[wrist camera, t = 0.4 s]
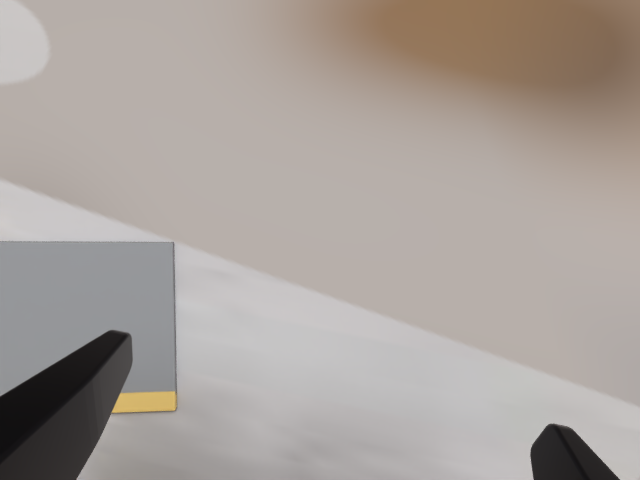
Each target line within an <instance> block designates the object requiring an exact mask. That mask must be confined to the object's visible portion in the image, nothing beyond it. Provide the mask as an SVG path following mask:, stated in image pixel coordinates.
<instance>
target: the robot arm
mask: <svg viewBox="0 0 640 480" xmlns="http://www.w3.org/2000/svg"><path fill="white" fill-rule="evenodd" d="M132 363H133V351H132V336H131V334H130V333H128V332H123V331H119V330H109V331H107V332H105V333H103V334H102V335H100V336H99V337H97V338H95V339H94V340H92V341H90V342H89V343H87V344H85V345H84V346H82V347H80V348H79V349H77V350H75V351H74V352H72V353H70V354H69V355H67V356H65V357H64V358H62V359H61V360H59V361H57V362H56V363H54V364H52V365H51V366H49V367H47V368H46V369H44V370H42V371H41V372H39V373H37V374H36V375H34V376H32V377H31V378H29V379H27V380H26V381H24V382H23V383H21V384H19V385H18V386H16V387H14V388H13V389H11V390H9V391H8V392H6V393H4V394H3V395H1V396H0V480H76V479H77V477H78V475H79V474H80V472H81V470H82V469H83V467H84V465H85V463H86V462H87V460H88V458H89V457H90V455H91V453H92V452H93V450H94V448H95V446H96V444H97V442H98V441H99V439H100V437H101V434H102V432H103V430H104V428H105V426H106V424H107V421H108V419H109V417H110V415H111V413H112V410H113V408H114V406H115V404H116V401H117V399H118V397H119V395H120V393H121V390H122V388H123V386H124V384H125V382H126V379H127V377H128V375H129V373H130V370H131V367H132ZM531 464H532V471H533V478H534V480H620V479H619V478H618V477H617V476H616V475H615V474H614V473H613V472H612V471H611V470H610V469H609V468H608V466H607V465H606V464H605V463H604V462H603V461H602V460H601V459H600V458H599V457H598V456H597V455H596V454H595V453H594V452H593V450H592V449H591V448H590V447H589V446H588V445H587V444H586V443H585V442H584V441H583V440H582V439H581V438H580V437H579V436H578V435H577V433H576V432H575V431H574V430H573V429H571V428H569V427H567V426H562V425H558V424H549V425H547V426H546V428H545V429H544V430H543V431H542V433H541V434H540V435H539V437H538V438H537V439H536V441H535V442H534V443H533V445H532V448H531Z"/></svg>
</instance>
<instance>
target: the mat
mask: <svg viewBox="0 0 640 480" xmlns="http://www.w3.org/2000/svg"><path fill="white" fill-rule="evenodd" d="M109 330H119V331H123V332H128V333H130V334H131V336H132V351H133V363H132V367H131V370H130V373H129V375H128V377H127V379H126V382H125V384H124V386H123V388H122V390H121V393H120V395H119V397H118V399H117V401H116V404H115V406H114V408H113V410H112V413H119V412H147V411H174V410H176V407H177V392H176V336H175V279H174V242H14V241H0V396H1V395H3V394H4V393H6V392H8V391H9V390H11V389H13V388H14V387H16V386H18V385H19V384H21V383H23V382H24V381H26V380H27V379H29V378H31V377H32V376H34V375H36V374H37V373H39V372H41V371H42V370H44V369H46V368H47V367H49V366H51V365H52V364H54V363H56V362H57V361H59V360H61V359H62V358H64V357H65V356H67V355H69V354H70V353H72V352H74V351H75V350H77V349H79V348H80V347H82V346H84V345H85V344H87V343H89V342H90V341H92V340H94V339H95V338H97V337H99V336H100V335H102V334H103V333H105V332H107V331H109Z"/></svg>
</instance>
